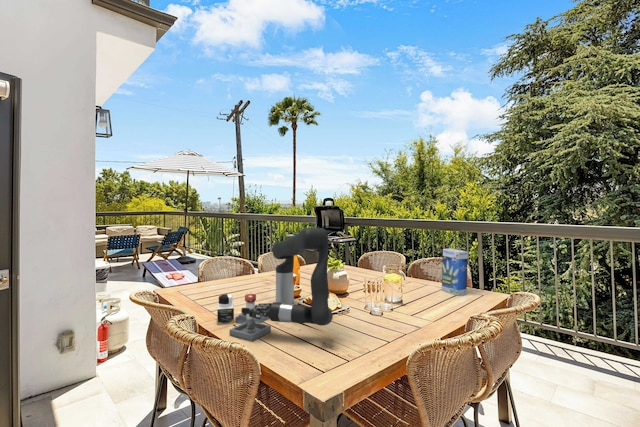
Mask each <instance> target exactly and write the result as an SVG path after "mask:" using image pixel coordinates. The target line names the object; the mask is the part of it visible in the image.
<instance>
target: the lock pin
mask: <svg viewBox="0 0 640 427" xmlns="http://www.w3.org/2000/svg"><path fill="white" fill-rule="evenodd" d="M244 301H245V308H250V309H251V308H255V305H256V301H257V294H256V293H246V294H245V295H244ZM246 329H247V330H254V329H255V318H252V317H249V314H246Z"/></svg>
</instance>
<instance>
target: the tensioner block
mask: <svg viewBox="0 0 640 427" xmlns="http://www.w3.org/2000/svg"><path fill="white" fill-rule="evenodd" d="M267 320H270V318H269V317H261V319H256V318H255V322H257V323H261V324H262V323H263V322H265V321H267ZM234 322H235V323H236V324H239V325H241V324H243V323H245V322H246V314H242V313H240V314H239V315H237V316H234Z"/></svg>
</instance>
